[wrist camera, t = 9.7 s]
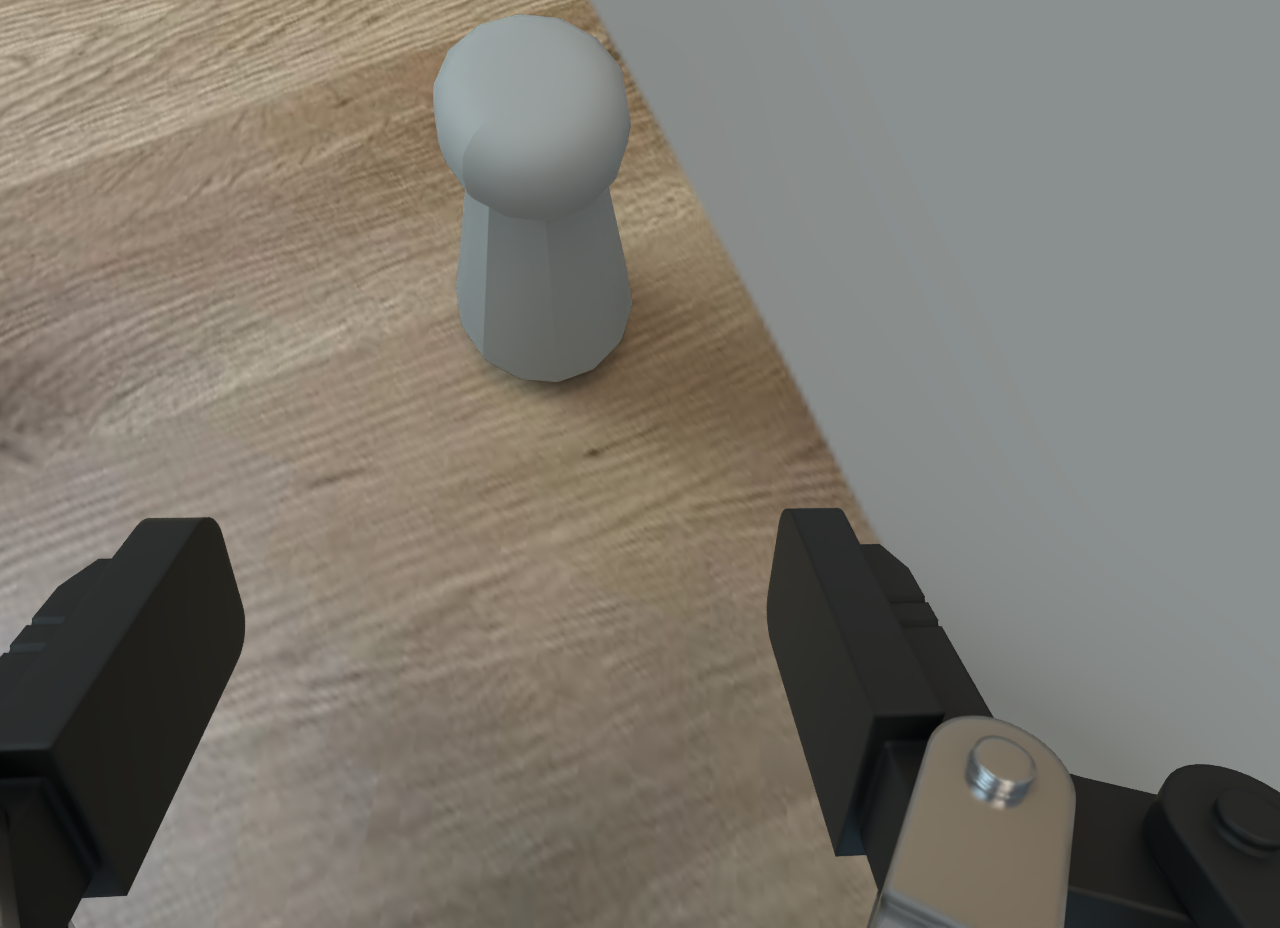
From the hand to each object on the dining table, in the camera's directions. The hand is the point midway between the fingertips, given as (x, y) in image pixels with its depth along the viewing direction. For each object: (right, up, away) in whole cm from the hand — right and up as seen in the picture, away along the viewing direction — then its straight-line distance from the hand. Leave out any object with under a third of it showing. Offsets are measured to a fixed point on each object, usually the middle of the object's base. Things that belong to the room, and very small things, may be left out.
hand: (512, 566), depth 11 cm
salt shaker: (-2, +6, +19) cm, 20 cm away
